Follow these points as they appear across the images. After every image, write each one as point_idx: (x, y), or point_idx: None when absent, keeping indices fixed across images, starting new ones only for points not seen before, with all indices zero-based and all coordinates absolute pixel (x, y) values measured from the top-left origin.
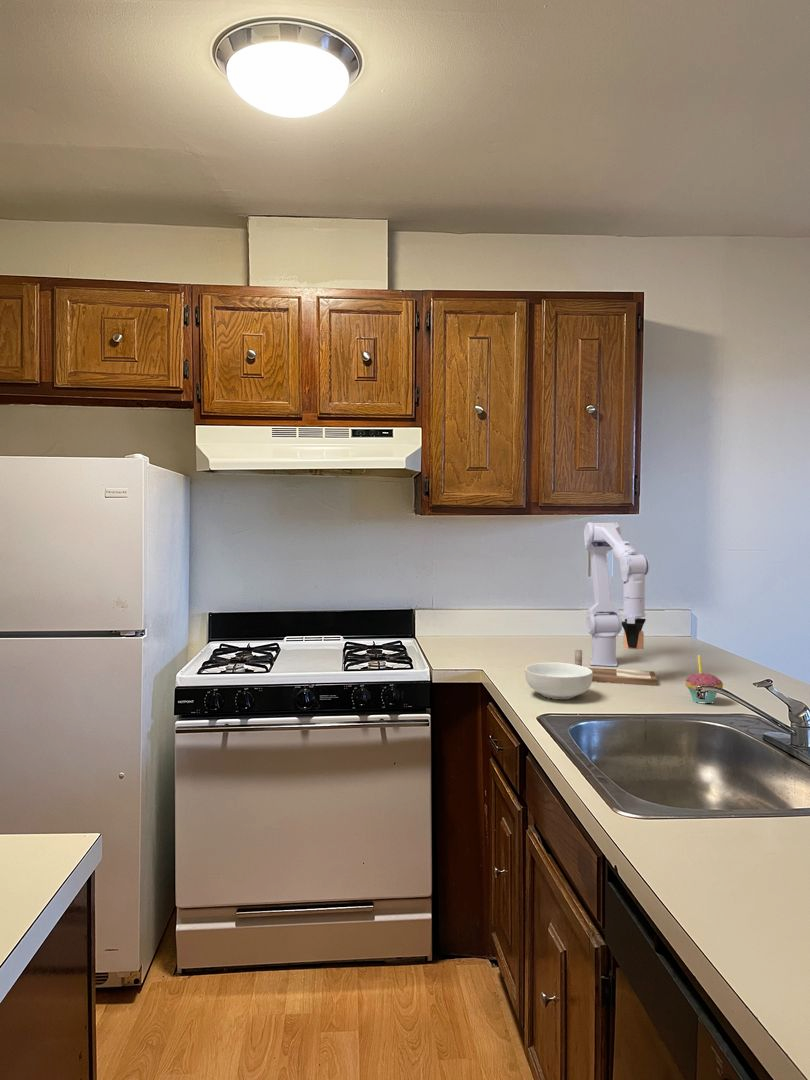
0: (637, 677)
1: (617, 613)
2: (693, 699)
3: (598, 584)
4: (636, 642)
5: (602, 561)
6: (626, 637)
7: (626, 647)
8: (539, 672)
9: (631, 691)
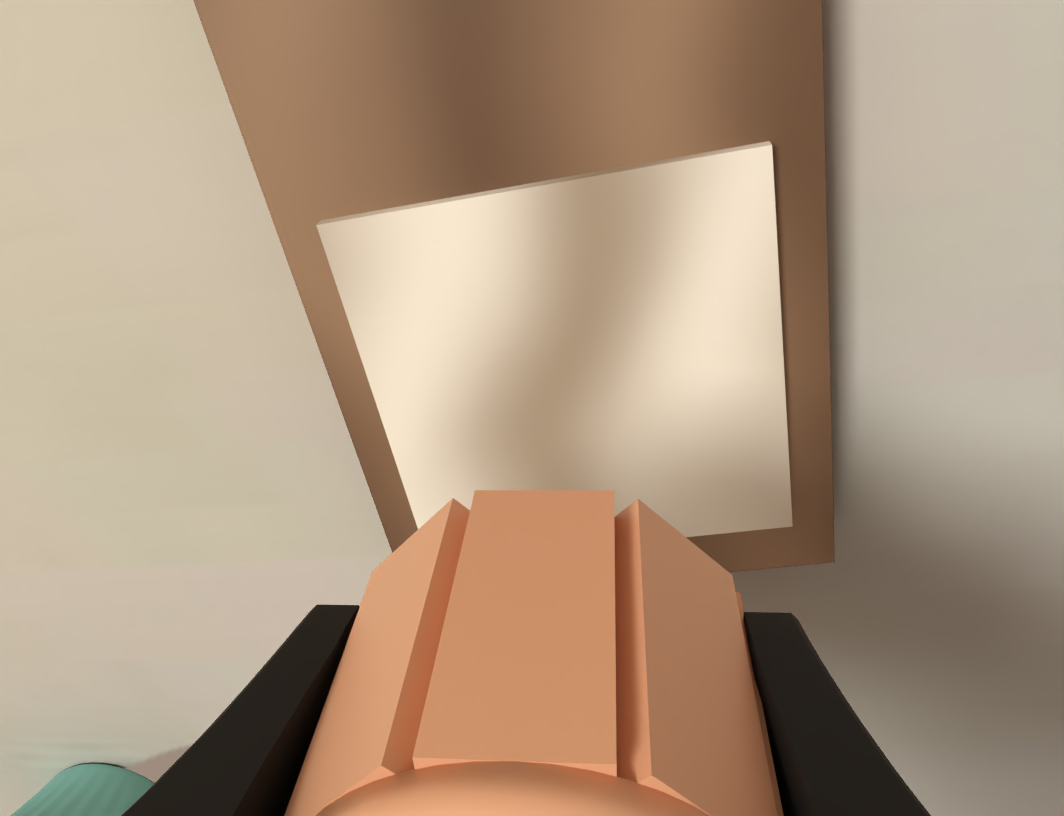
0: (394, 445)
1: None
2: (55, 779)
3: None
4: None
5: None
6: (182, 759)
7: (399, 555)
8: None
9: (45, 392)
